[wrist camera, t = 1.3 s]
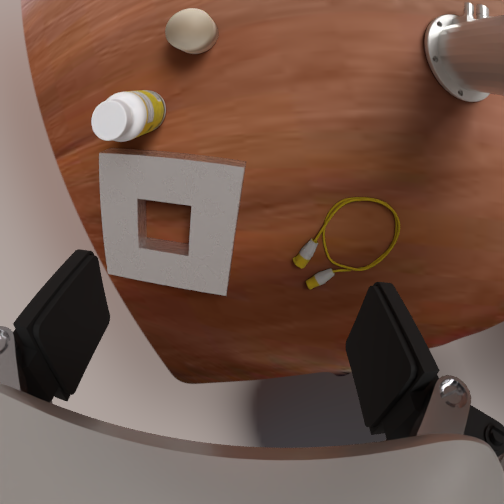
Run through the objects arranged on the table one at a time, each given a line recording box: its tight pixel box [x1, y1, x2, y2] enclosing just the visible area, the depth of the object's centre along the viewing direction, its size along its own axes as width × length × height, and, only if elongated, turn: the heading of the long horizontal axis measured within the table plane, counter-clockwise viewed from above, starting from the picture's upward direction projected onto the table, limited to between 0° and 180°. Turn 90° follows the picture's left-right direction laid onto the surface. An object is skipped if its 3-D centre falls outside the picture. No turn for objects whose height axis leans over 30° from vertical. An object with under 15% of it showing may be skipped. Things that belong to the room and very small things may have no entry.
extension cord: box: [293, 197, 400, 290], centre depth 38 cm, size 12×16×2 cm
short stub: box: [165, 8, 218, 54], centre depth 24 cm, size 5×5×4 cm
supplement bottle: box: [91, 90, 166, 142], centre depth 27 cm, size 5×5×10 cm
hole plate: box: [99, 148, 246, 296], centre depth 37 cm, size 18×18×3 cm
